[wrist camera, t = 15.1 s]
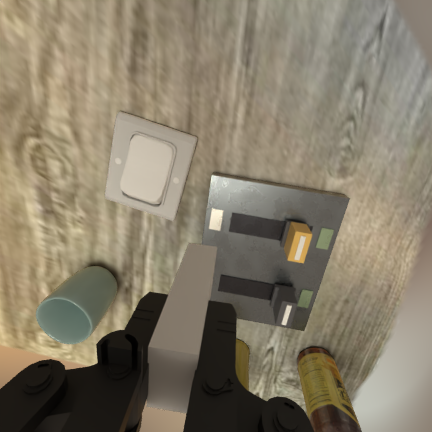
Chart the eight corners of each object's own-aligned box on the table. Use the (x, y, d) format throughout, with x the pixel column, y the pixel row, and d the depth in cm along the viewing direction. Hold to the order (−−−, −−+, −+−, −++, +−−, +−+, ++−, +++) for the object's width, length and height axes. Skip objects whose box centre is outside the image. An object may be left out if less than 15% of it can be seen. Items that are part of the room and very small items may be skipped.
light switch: (94, 205, 37) (106, 111, 31) (109, 196, 41) (121, 110, 35) (169, 230, 37) (193, 140, 32) (176, 218, 41) (199, 136, 36)
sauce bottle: (334, 369, 46) (397, 537, 28) (298, 373, 47) (335, 537, 29) (330, 340, 44) (393, 500, 26) (292, 345, 45) (327, 502, 27)
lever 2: (275, 282, 39) (278, 301, 35) (295, 286, 38) (301, 305, 34) (269, 304, 40) (272, 325, 36) (288, 308, 40) (293, 329, 36)
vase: (249, 337, 46) (252, 428, 32) (249, 364, 48) (252, 459, 34) (214, 337, 46) (202, 425, 33) (216, 363, 48) (206, 456, 35)
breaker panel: (213, 172, 36) (211, 175, 34) (344, 194, 36) (350, 198, 34) (194, 301, 44) (191, 310, 42) (301, 321, 43) (304, 331, 41)
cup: (133, 287, 44) (103, 331, 35) (99, 305, 46) (63, 352, 37) (103, 251, 42) (64, 288, 33) (69, 271, 44) (23, 312, 35)
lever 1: (286, 218, 35) (291, 231, 31) (308, 222, 35) (317, 235, 31) (279, 245, 36) (283, 260, 33) (300, 249, 36) (308, 265, 32)
